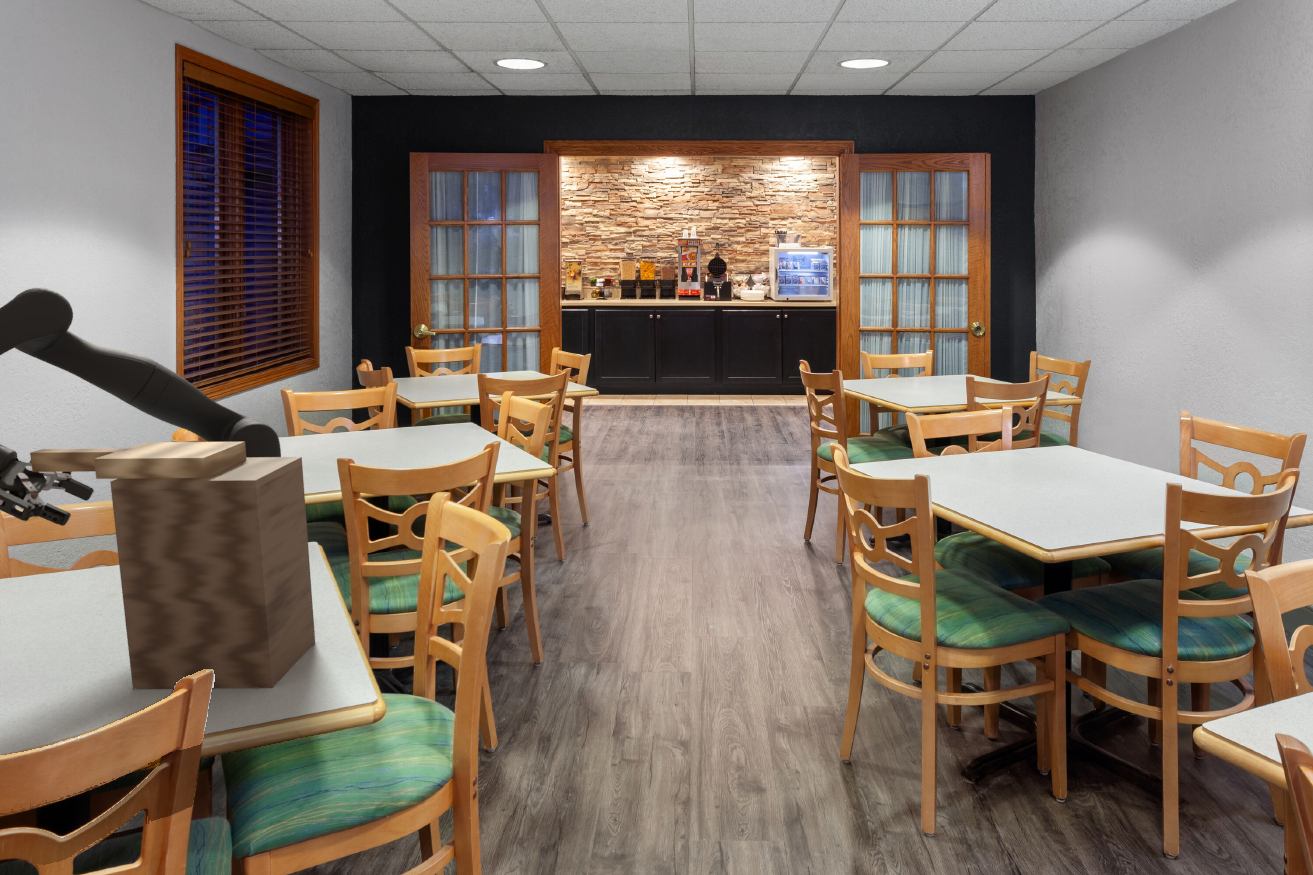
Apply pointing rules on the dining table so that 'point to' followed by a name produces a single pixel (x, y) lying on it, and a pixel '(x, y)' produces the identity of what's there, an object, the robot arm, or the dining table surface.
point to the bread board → (144, 460)
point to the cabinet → (215, 574)
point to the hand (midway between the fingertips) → (79, 507)
